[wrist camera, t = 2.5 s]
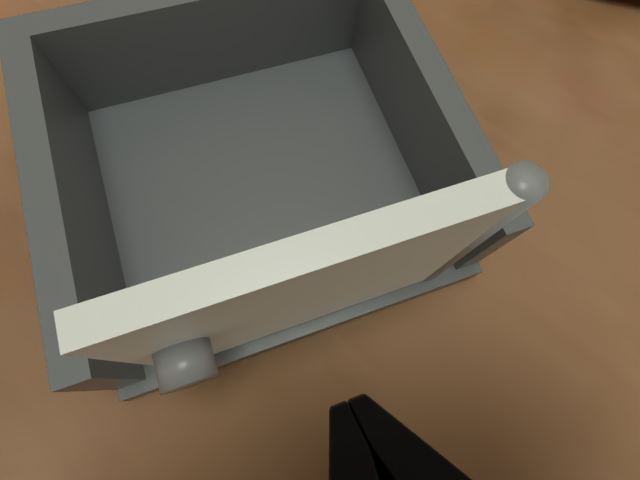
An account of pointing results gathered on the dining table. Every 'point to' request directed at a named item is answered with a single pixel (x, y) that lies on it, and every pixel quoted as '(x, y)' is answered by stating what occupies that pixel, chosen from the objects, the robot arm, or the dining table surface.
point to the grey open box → (221, 145)
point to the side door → (292, 279)
